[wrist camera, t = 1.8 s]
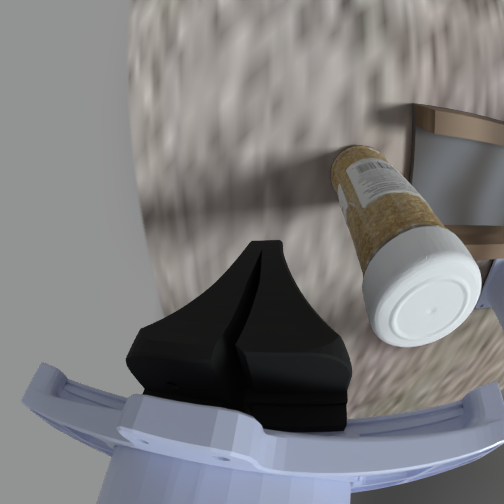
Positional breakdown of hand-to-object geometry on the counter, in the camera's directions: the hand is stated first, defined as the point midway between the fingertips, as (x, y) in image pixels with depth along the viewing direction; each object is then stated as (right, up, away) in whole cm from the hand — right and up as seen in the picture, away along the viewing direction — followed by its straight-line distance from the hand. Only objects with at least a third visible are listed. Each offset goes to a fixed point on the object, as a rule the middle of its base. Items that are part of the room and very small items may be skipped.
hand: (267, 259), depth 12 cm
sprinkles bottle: (+7, +6, +7) cm, 11 cm away
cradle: (+17, +6, +4) cm, 19 cm away
